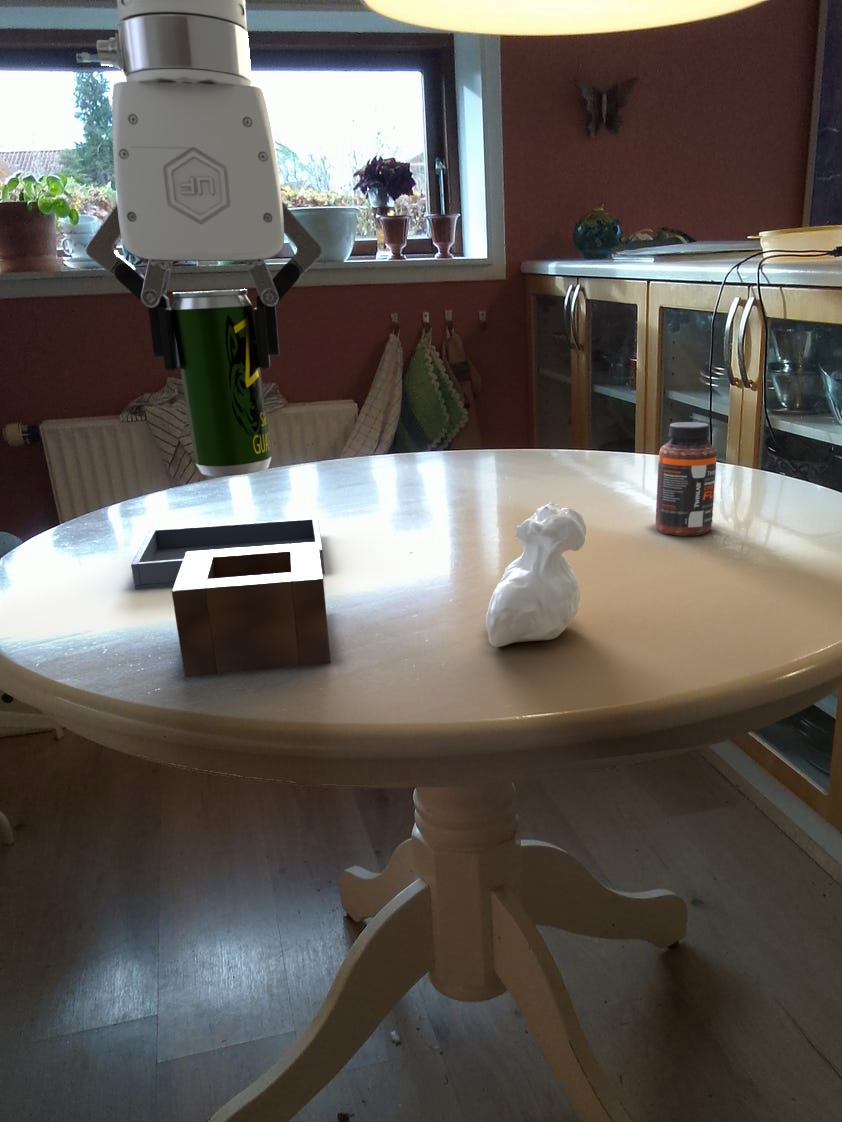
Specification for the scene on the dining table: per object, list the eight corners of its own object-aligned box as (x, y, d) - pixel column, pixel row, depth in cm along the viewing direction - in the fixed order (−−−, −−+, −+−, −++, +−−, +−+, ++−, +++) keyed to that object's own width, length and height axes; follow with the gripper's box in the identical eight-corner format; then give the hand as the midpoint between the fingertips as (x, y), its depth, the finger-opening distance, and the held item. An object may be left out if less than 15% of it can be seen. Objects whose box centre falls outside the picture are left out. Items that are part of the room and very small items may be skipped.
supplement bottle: (712, 539, 96) (719, 428, 92) (653, 537, 97) (658, 428, 93) (711, 525, 101) (718, 420, 97) (656, 523, 102) (660, 419, 98)
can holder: (184, 678, 65) (171, 591, 63) (197, 629, 74) (185, 551, 72) (331, 664, 67) (323, 578, 64) (325, 618, 76) (318, 541, 74)
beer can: (190, 479, 64) (160, 293, 59) (202, 464, 69) (176, 292, 64) (269, 474, 64) (246, 289, 60) (276, 460, 69) (254, 288, 65)
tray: (135, 590, 84) (130, 564, 83) (153, 552, 96) (150, 529, 96) (324, 575, 87) (322, 549, 86) (319, 540, 99) (317, 517, 99)
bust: (512, 690, 67) (608, 581, 61) (433, 621, 67) (522, 507, 62) (560, 634, 77) (646, 536, 72) (491, 575, 78) (572, 473, 72)
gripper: (24, 45, 52) (76, 376, 59) (330, 56, 55) (347, 370, 62) (55, 72, 59) (99, 366, 66) (326, 81, 62) (341, 361, 69)
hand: (219, 365), depth 64 cm, fingers closed on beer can, 5 cm apart
